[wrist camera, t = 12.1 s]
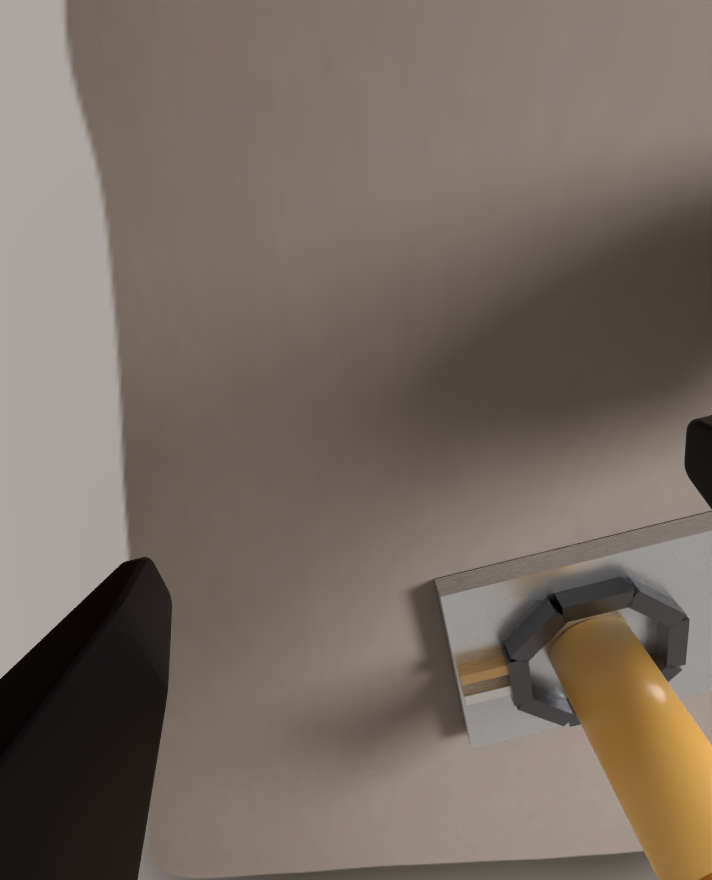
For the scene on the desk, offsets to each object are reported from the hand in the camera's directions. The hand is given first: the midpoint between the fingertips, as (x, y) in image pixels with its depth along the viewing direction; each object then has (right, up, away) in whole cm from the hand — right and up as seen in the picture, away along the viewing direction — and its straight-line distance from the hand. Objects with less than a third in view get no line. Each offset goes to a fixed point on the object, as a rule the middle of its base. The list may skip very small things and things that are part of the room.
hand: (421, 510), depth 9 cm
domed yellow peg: (+11, -10, +20) cm, 25 cm away
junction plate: (+11, -9, +21) cm, 25 cm away
